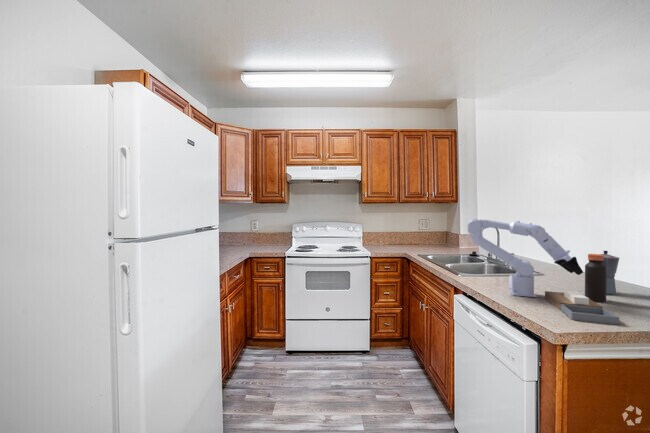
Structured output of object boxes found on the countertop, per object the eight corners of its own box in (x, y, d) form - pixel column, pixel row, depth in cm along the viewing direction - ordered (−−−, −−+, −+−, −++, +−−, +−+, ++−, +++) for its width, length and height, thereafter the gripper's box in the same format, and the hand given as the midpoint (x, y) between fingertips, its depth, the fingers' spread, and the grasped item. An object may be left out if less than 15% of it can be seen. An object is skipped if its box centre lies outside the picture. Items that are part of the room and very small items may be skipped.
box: (571, 319, 102) (571, 312, 102) (560, 310, 111) (560, 304, 111) (618, 324, 97) (618, 317, 97) (603, 314, 106) (603, 308, 106)
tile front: (574, 303, 110) (574, 297, 110) (569, 299, 114) (569, 293, 114) (588, 304, 109) (588, 298, 109) (583, 301, 113) (583, 295, 113)
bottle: (610, 303, 119) (611, 256, 118) (591, 302, 120) (592, 255, 120) (598, 298, 125) (598, 253, 125) (580, 297, 127) (581, 253, 126)
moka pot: (626, 293, 131) (627, 251, 131) (604, 297, 127) (604, 253, 126) (601, 288, 140) (602, 248, 140) (580, 291, 136) (580, 250, 135)
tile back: (568, 299, 115) (568, 293, 115) (564, 296, 119) (564, 290, 119) (582, 300, 113) (582, 294, 113) (577, 297, 117) (577, 291, 117)
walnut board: (560, 310, 111) (560, 302, 111) (544, 297, 127) (544, 291, 127) (602, 314, 106) (602, 306, 106) (581, 300, 122) (581, 294, 122)
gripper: (566, 242, 119) (593, 269, 115) (554, 242, 132) (578, 266, 128) (551, 252, 121) (577, 278, 117) (540, 250, 134) (563, 274, 130)
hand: (576, 272), depth 122 cm, fingers open, 7 cm apart
